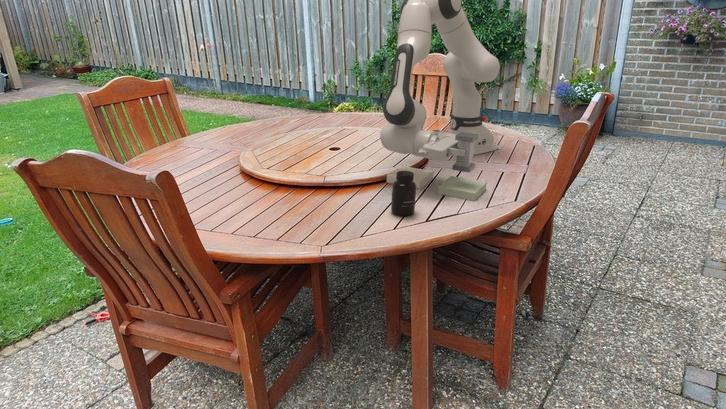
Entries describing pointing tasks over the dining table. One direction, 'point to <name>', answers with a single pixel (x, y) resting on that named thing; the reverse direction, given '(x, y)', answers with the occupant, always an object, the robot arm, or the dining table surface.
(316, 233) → the dining table surface
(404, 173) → the supplement bottle
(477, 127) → the robot arm
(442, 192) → the stand
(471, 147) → the post
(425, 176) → the stand
